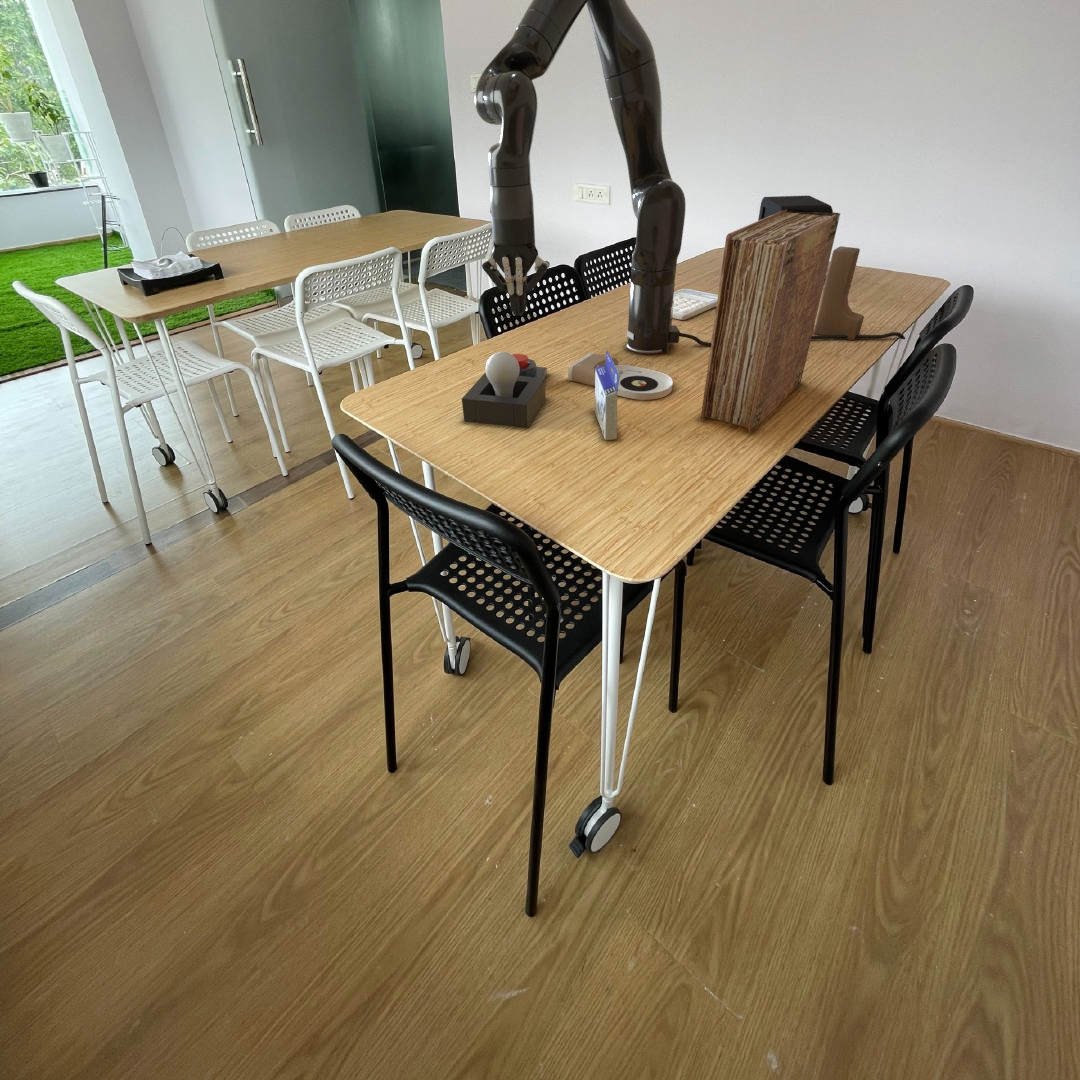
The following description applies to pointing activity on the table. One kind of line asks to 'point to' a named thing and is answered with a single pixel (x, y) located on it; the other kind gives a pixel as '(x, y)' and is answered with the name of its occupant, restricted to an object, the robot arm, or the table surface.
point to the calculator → (692, 303)
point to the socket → (504, 403)
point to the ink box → (607, 398)
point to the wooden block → (839, 297)
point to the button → (521, 360)
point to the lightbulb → (502, 373)
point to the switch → (533, 370)
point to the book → (766, 313)
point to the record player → (623, 378)
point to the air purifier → (791, 205)
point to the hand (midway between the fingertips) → (518, 313)
